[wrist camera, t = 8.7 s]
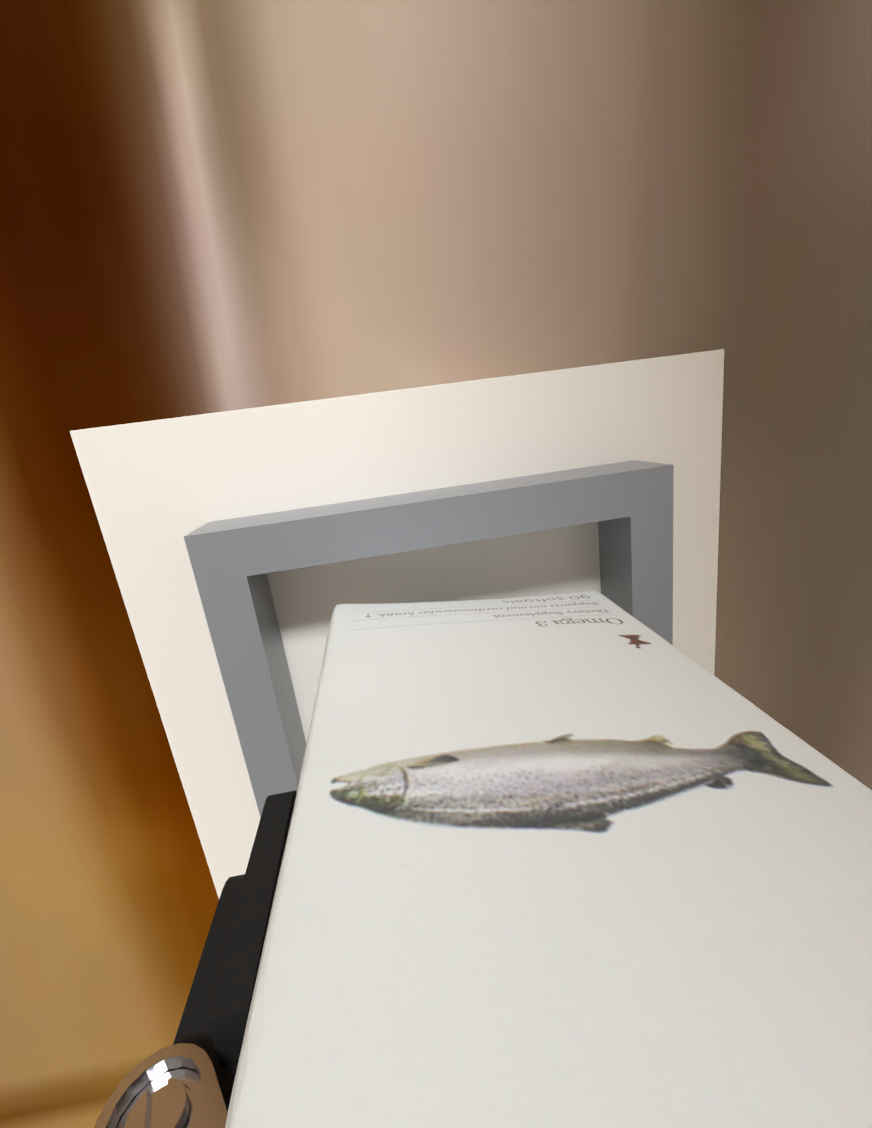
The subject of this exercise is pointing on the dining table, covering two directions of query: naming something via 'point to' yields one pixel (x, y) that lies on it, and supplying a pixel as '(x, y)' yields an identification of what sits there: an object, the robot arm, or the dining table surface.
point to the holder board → (392, 539)
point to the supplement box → (557, 890)
